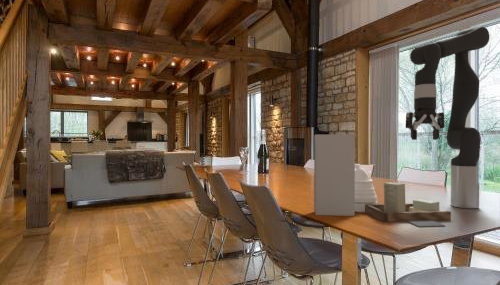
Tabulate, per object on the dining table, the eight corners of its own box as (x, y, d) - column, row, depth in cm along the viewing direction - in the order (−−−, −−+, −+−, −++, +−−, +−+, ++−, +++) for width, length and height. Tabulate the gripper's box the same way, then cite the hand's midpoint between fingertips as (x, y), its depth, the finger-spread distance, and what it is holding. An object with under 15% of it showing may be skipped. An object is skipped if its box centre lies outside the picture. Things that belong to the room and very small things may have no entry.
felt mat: (431, 221, 112) (431, 219, 112) (445, 226, 105) (445, 225, 105) (406, 221, 111) (406, 220, 111) (418, 227, 104) (418, 225, 104)
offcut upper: (421, 206, 124) (421, 198, 124) (439, 210, 118) (439, 201, 118) (412, 208, 122) (412, 200, 122) (430, 211, 116) (430, 203, 116)
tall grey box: (351, 212, 126) (351, 134, 125) (354, 215, 120) (355, 134, 120) (314, 211, 127) (314, 134, 127) (315, 214, 121) (315, 134, 121)
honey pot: (337, 207, 136) (337, 164, 136) (361, 204, 141) (361, 163, 141) (359, 213, 124) (359, 166, 124) (384, 210, 130) (384, 165, 129)
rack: (423, 210, 129) (423, 203, 129) (450, 220, 113) (450, 211, 113) (365, 212, 126) (365, 204, 126) (384, 221, 111) (384, 213, 111)
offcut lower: (425, 214, 125) (425, 206, 125) (442, 219, 116) (442, 211, 116) (409, 214, 124) (409, 206, 124) (425, 220, 115) (425, 212, 115)
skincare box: (406, 217, 118) (406, 183, 118) (397, 218, 116) (398, 184, 116) (391, 213, 124) (391, 181, 123) (383, 215, 121) (383, 182, 121)
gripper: (436, 98, 129) (435, 139, 129) (401, 98, 127) (401, 139, 128) (449, 96, 121) (449, 139, 121) (413, 95, 120) (413, 139, 120)
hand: (424, 139), depth 125 cm, fingers open, 8 cm apart
